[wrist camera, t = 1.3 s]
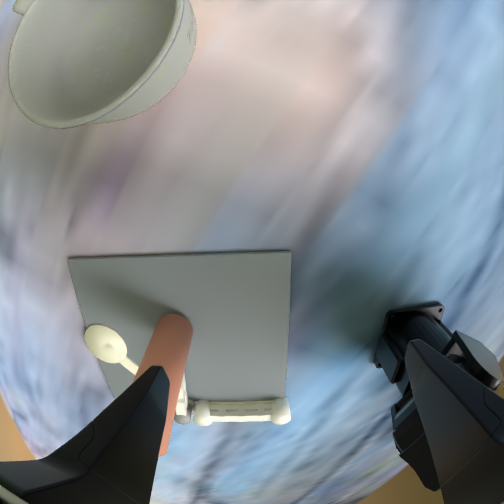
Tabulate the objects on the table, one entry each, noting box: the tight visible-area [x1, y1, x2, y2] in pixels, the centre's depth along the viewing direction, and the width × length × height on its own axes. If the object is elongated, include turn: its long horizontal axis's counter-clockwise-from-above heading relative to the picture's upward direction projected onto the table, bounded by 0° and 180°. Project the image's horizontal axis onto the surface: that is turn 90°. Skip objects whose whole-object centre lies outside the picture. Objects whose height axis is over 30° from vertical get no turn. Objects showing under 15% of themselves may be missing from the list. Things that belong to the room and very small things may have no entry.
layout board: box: [67, 251, 291, 414], centre depth 24 cm, size 19×17×1 cm
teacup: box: [8, 0, 196, 129], centre depth 12 cm, size 14×11×8 cm
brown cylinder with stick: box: [133, 314, 193, 457], centre depth 19 cm, size 12×3×11 cm, turn 177°
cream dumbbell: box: [193, 396, 291, 426], centre depth 26 cm, size 9×2×2 cm, turn 92°
